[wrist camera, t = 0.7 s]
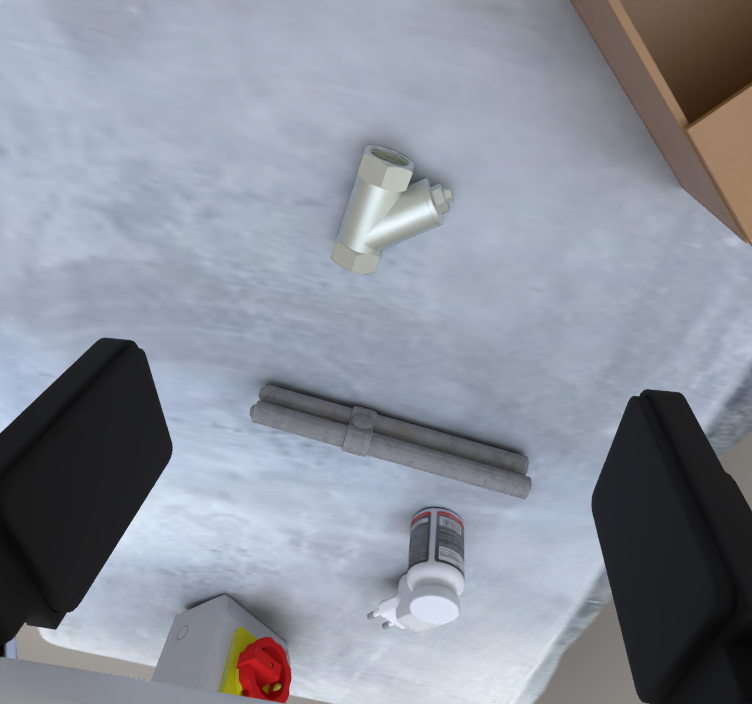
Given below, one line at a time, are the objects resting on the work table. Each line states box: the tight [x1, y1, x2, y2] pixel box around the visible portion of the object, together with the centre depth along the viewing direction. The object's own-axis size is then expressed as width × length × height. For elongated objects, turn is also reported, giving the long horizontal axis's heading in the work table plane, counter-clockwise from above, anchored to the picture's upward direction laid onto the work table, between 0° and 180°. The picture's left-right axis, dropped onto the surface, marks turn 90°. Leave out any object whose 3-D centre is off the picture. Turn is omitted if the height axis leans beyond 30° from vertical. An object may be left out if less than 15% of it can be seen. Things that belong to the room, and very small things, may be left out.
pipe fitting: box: [330, 145, 454, 274], centre depth 36 cm, size 8×4×7 cm
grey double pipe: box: [250, 384, 531, 499], centre depth 47 cm, size 26×3×5 cm, turn 76°
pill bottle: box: [407, 508, 464, 624], centre depth 53 cm, size 6×6×10 cm
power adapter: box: [367, 574, 442, 633], centre depth 61 cm, size 11×5×6 cm, turn 137°
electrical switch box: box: [151, 594, 291, 703], centre depth 67 cm, size 15×15×20 cm
